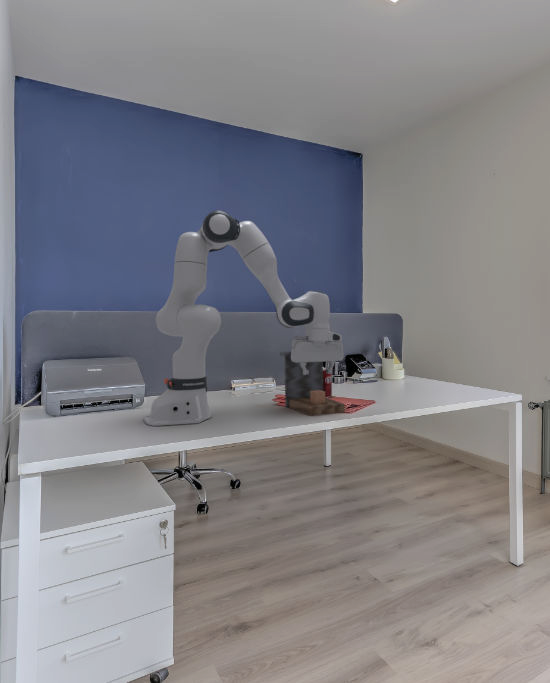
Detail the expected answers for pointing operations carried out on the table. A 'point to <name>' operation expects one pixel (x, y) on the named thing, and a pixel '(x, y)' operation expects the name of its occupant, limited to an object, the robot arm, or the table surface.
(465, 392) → the table surface
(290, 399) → the socket block
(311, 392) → the peg
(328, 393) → the soda can
